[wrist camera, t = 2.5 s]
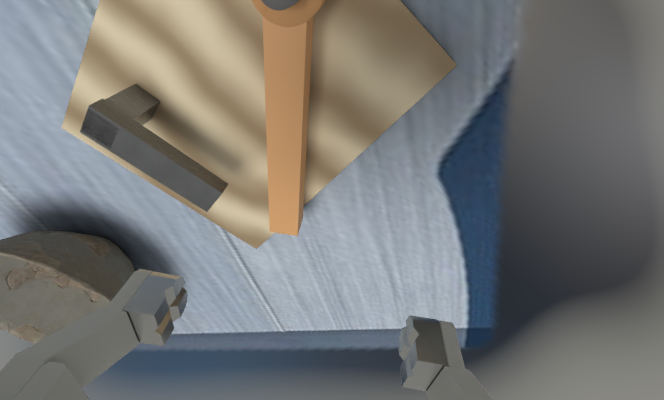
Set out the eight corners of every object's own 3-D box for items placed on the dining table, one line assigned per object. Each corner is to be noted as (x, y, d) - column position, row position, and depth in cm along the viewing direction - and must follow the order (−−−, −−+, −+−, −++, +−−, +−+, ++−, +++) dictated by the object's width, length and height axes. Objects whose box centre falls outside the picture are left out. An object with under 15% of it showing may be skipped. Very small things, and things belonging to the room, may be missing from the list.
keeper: (146, 75, 30) (88, 105, 24) (249, 151, 33) (222, 193, 27) (136, 99, 31) (79, 132, 25) (235, 169, 35) (206, 212, 29)
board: (188, -240, 18) (175, -254, 17) (453, 60, 26) (457, 65, 25) (72, 121, 34) (61, 127, 32) (259, 240, 41) (256, 249, 40)
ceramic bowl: (199, 293, 50) (167, 355, 43) (89, 303, 56) (42, 359, 48) (107, 179, 38) (36, 237, 30) (-23, 207, 44) (-110, 261, 36)
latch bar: (258, -71, 21) (230, -78, 17) (333, -62, 21) (322, -67, 17) (268, 212, 36) (254, 243, 32) (311, 218, 36) (303, 251, 32)
